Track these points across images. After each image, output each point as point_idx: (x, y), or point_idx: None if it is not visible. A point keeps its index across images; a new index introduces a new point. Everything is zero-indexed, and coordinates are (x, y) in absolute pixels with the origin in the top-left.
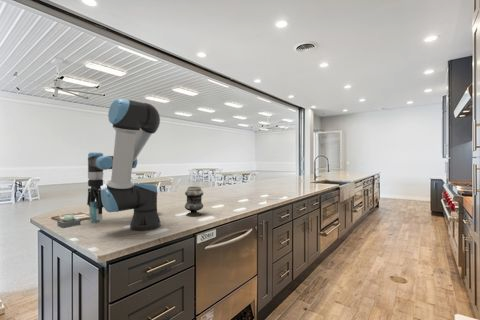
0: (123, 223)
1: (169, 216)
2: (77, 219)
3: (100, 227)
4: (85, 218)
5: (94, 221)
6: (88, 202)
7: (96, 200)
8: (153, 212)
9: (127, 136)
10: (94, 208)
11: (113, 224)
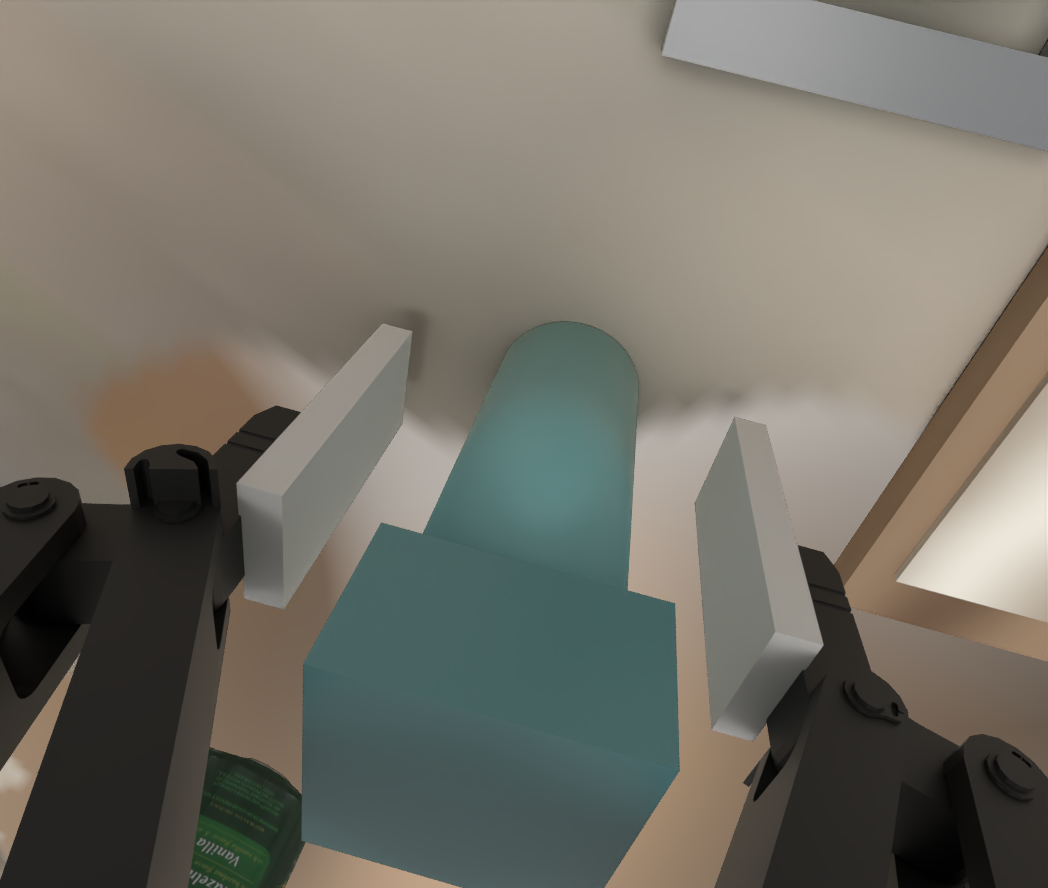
0: (34, 431)
1: (11, 765)
2: (827, 70)
3: (14, 70)
4: (939, 444)
5: (523, 339)
6: (975, 837)
7: (106, 785)
8: None
9: None
10: (445, 529)
11: (79, 336)
